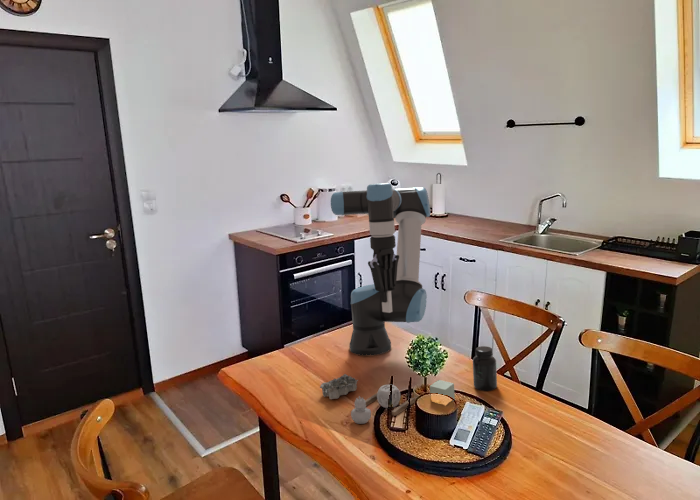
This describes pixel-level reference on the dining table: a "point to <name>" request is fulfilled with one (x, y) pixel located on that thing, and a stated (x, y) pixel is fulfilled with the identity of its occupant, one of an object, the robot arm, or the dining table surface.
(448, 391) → the sage block
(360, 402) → the grey rounded piece
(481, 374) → the supplement bottle
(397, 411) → the rails
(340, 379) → the egg carton
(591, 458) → the dining table surface
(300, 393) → the dining table surface
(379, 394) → the die
